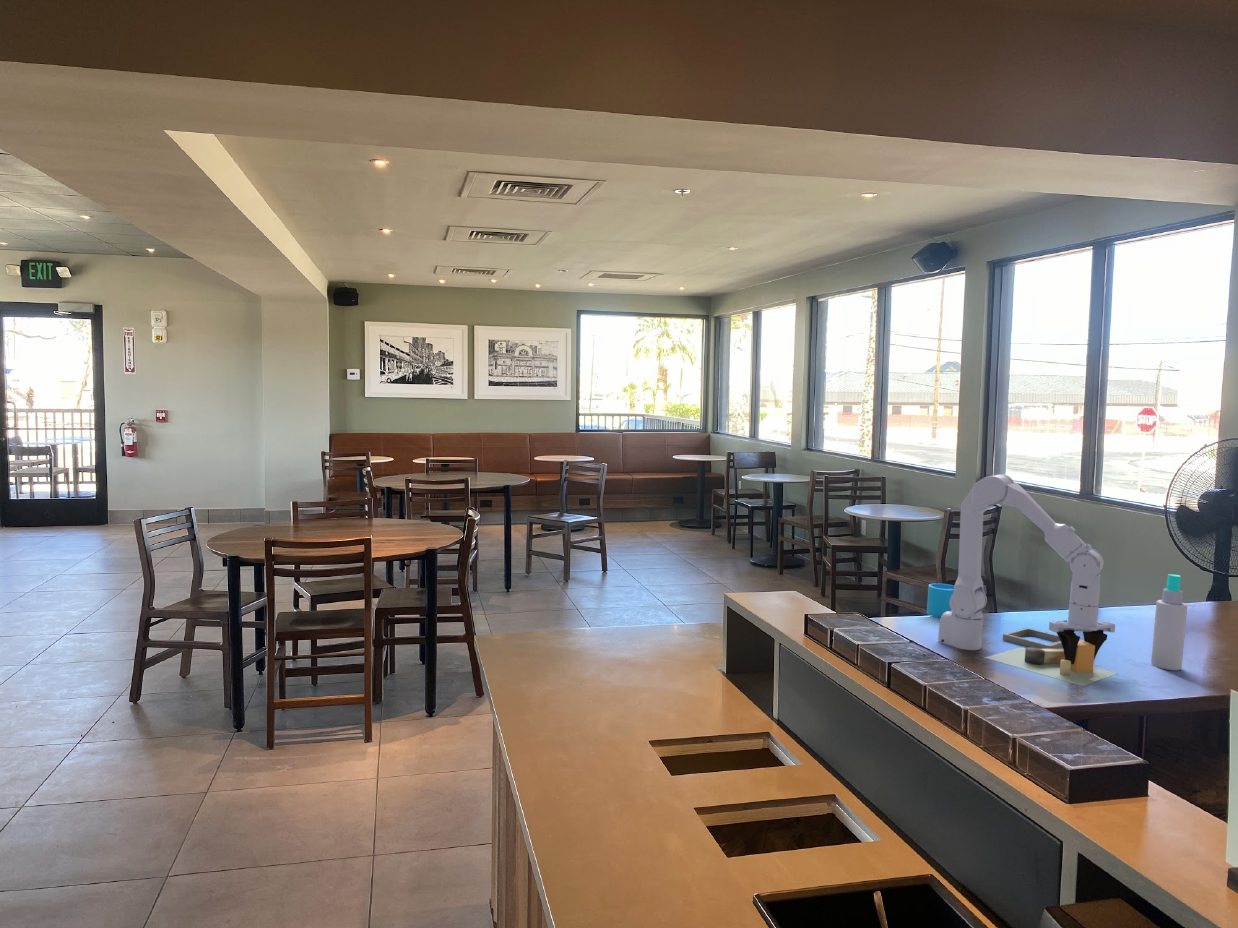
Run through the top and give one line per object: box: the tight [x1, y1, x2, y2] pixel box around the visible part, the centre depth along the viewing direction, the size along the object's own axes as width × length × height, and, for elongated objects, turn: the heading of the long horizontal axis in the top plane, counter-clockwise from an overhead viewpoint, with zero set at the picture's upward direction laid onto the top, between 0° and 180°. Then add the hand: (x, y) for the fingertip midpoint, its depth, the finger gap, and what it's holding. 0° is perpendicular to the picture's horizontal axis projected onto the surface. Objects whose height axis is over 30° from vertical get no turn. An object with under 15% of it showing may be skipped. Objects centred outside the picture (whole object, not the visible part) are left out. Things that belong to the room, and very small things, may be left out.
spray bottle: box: [1150, 573, 1188, 672], centre depth 193 cm, size 6×6×22 cm
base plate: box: [984, 646, 1118, 687], centre depth 187 cm, size 22×16×4 cm
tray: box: [1002, 627, 1063, 649], centre depth 206 cm, size 12×12×3 cm
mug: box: [926, 583, 954, 618], centre depth 235 cm, size 12×8×8 cm
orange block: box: [1070, 639, 1095, 672], centre depth 185 cm, size 4×4×6 cm
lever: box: [1025, 647, 1065, 665], centre depth 190 cm, size 14×5×3 cm, turn 96°
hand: (1079, 662), depth 186 cm, fingers closed on orange block, 4 cm apart
